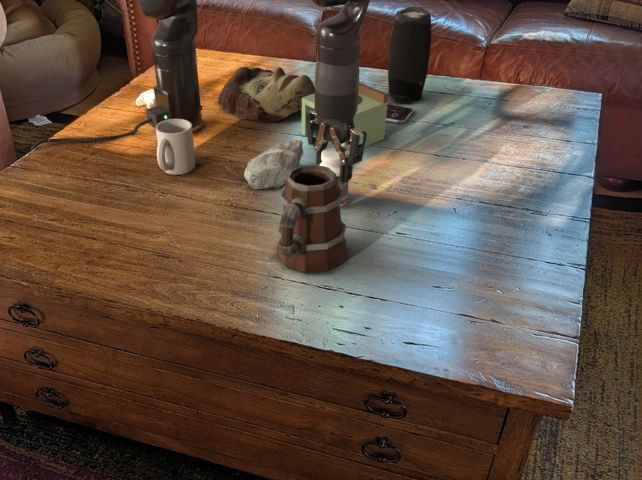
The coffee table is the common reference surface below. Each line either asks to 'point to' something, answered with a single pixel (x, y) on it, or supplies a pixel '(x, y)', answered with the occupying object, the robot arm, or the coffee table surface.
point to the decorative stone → (273, 165)
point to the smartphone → (398, 113)
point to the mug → (311, 220)
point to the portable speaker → (409, 54)
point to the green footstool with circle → (360, 113)
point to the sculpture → (264, 94)
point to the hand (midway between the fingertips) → (333, 174)
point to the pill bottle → (335, 169)
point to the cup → (175, 146)
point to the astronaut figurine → (147, 99)
